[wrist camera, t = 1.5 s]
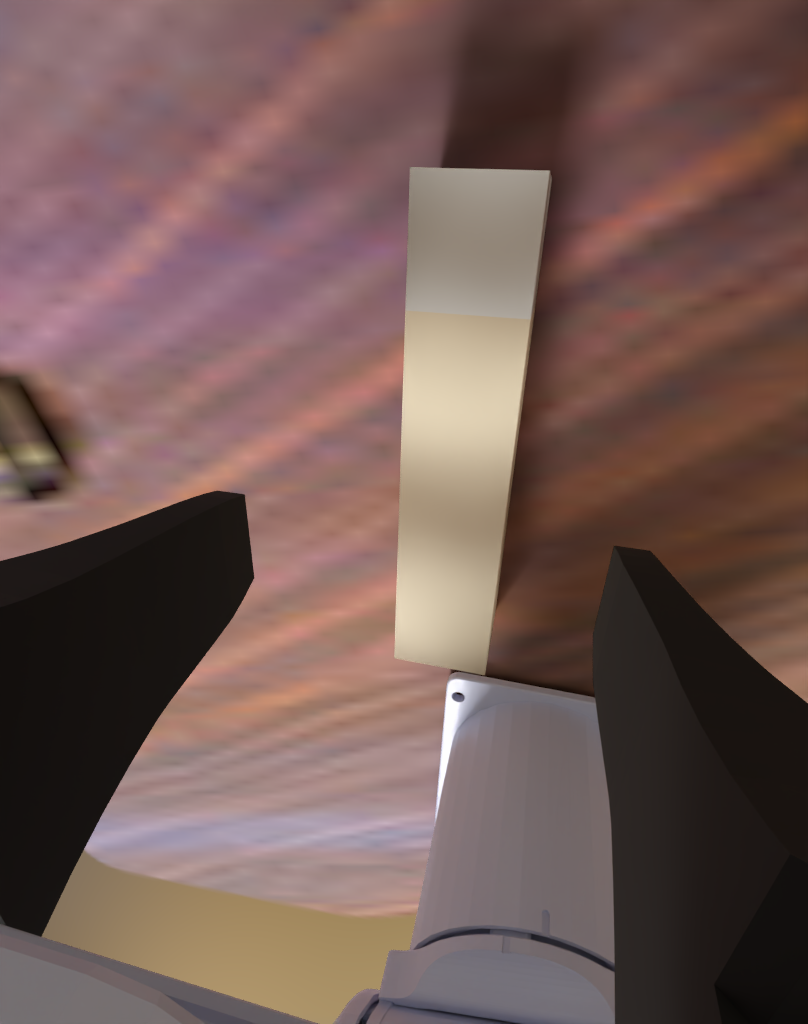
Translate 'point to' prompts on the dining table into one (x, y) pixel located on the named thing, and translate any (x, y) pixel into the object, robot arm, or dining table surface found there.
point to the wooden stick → (462, 400)
